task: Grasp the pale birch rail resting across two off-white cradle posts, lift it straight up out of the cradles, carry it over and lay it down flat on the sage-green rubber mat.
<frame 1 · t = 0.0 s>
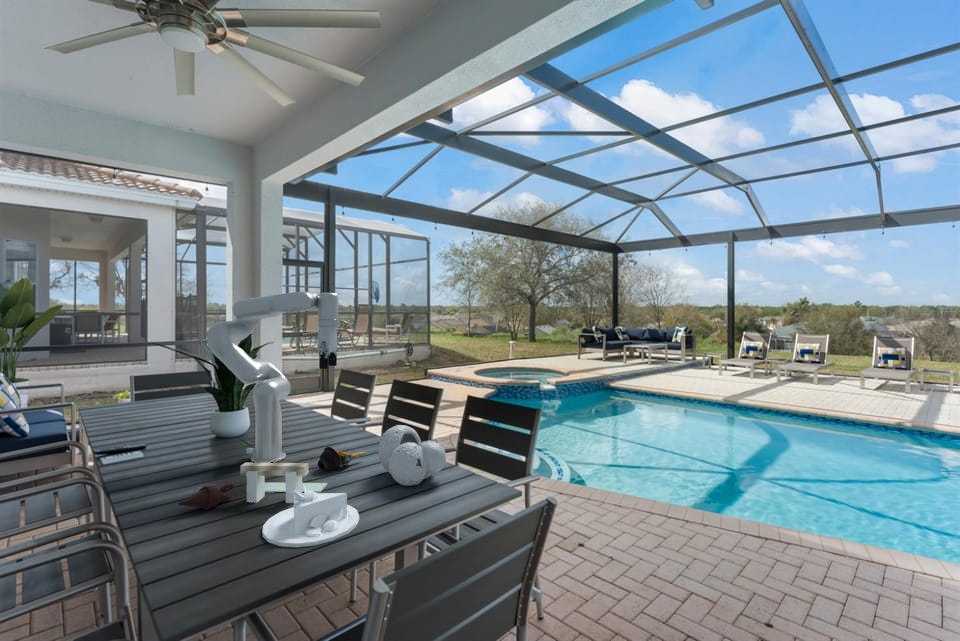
hand: (328, 367, 180), 37 cm above the table, tool pointing down, fingers open, 9 cm apart
fried food: (342, 467, 173), on the table
post 1: (255, 499, 142), on the table
mat: (287, 488, 151), on the table
rail: (274, 473, 142), point 8 cm above the table, touching post 2, post 1
icecream: (207, 509, 135), on the table
grey lumpy clump: (408, 478, 161), on the table
dish: (312, 526, 126), on the table
post 2: (294, 499, 142), on the table
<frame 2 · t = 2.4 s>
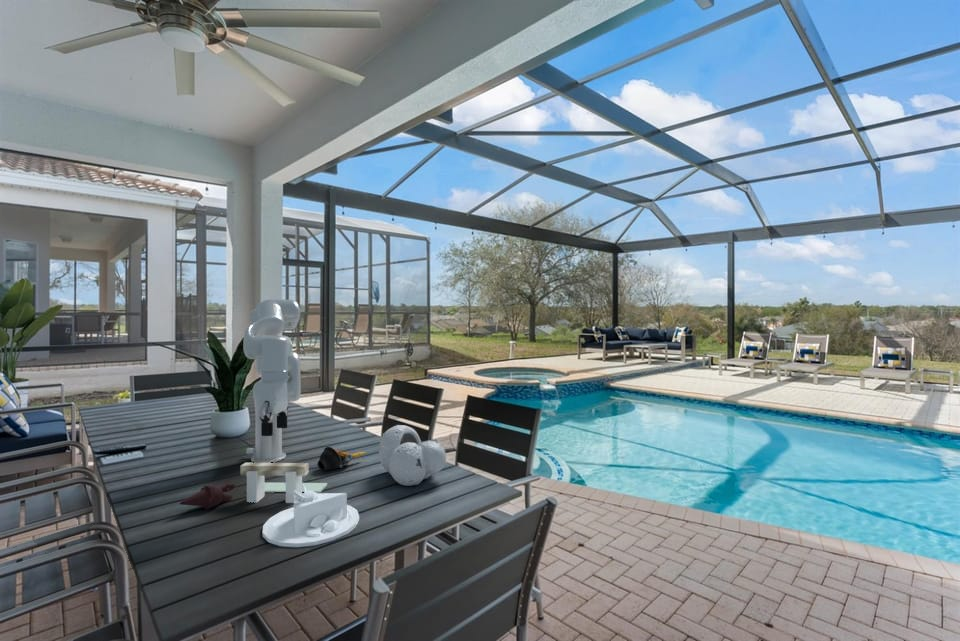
hand: (274, 431, 142), 21 cm above the table, tool pointing down, fingers open, 9 cm apart
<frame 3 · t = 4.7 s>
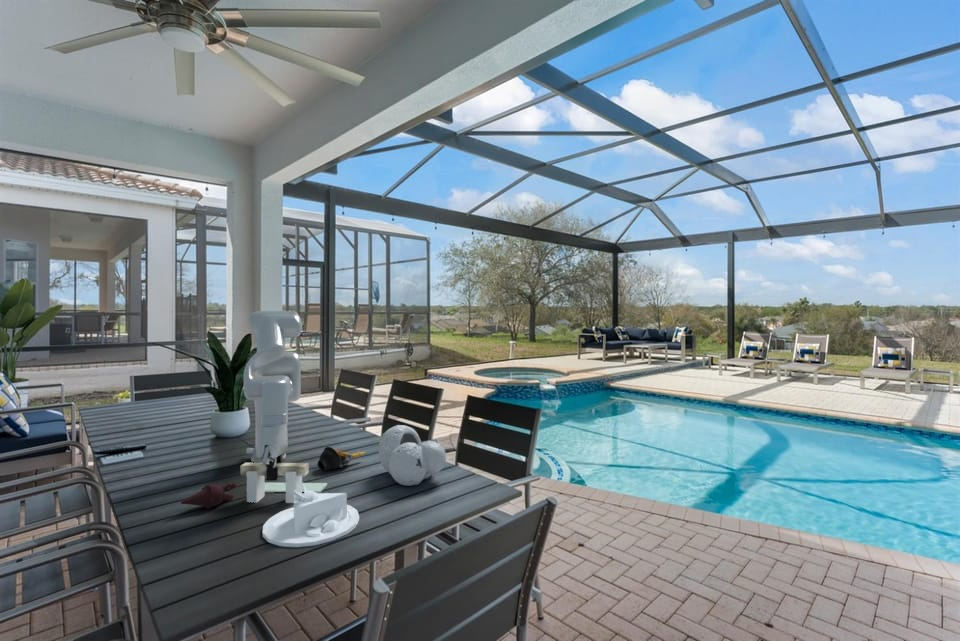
hand: (274, 477, 142), 7 cm above the table, tool pointing down, fingers closed on rail, 3 cm apart
rail: (274, 473, 142), point 8 cm above the table, touching gripper, post 2, post 1
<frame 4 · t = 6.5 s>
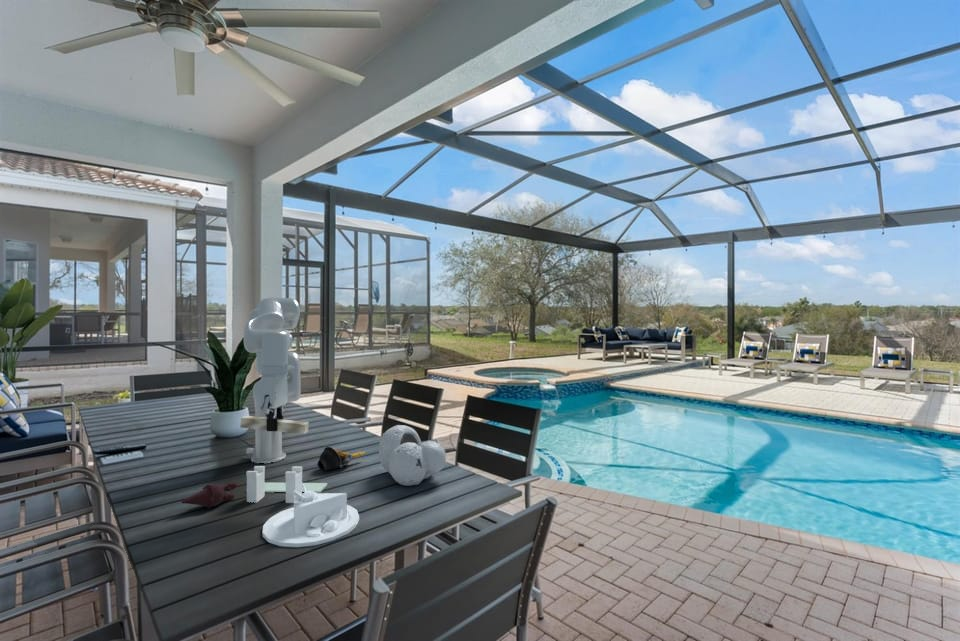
hand: (275, 428, 142), 22 cm above the table, tool pointing down, fingers closed on rail, 3 cm apart
rail: (274, 429, 142), point 22 cm above the table, tilted 6°, touching gripper
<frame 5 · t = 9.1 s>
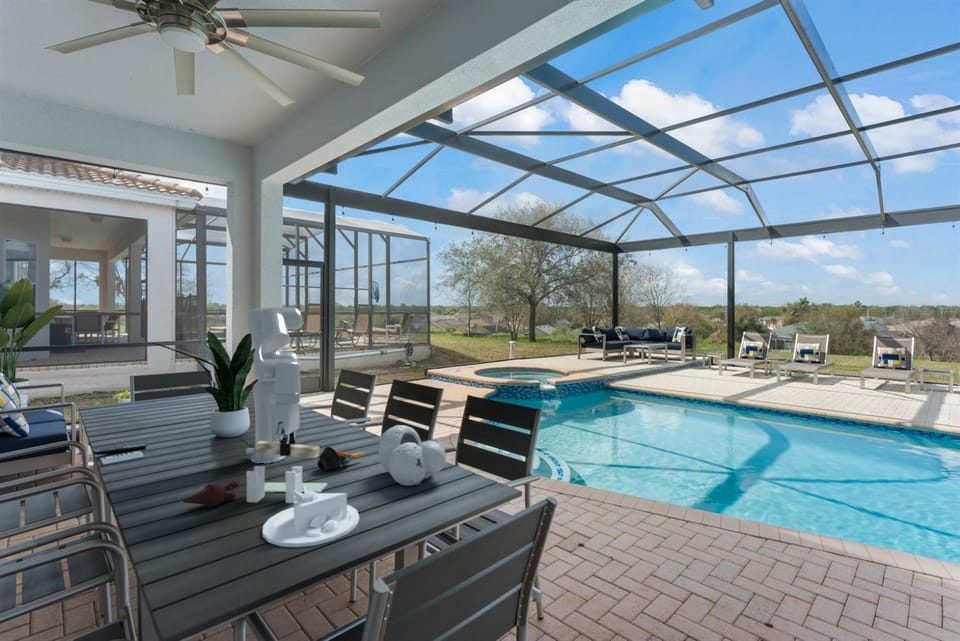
hand: (287, 453, 151), 12 cm above the table, tool pointing down, fingers closed on rail, 3 cm apart
rail: (287, 453, 151), point 12 cm above the table, tilted 5°, touching gripper
when the fingers open (1 cm above the table, at t = 11.7 s): rail stays where it is, resting on mat.
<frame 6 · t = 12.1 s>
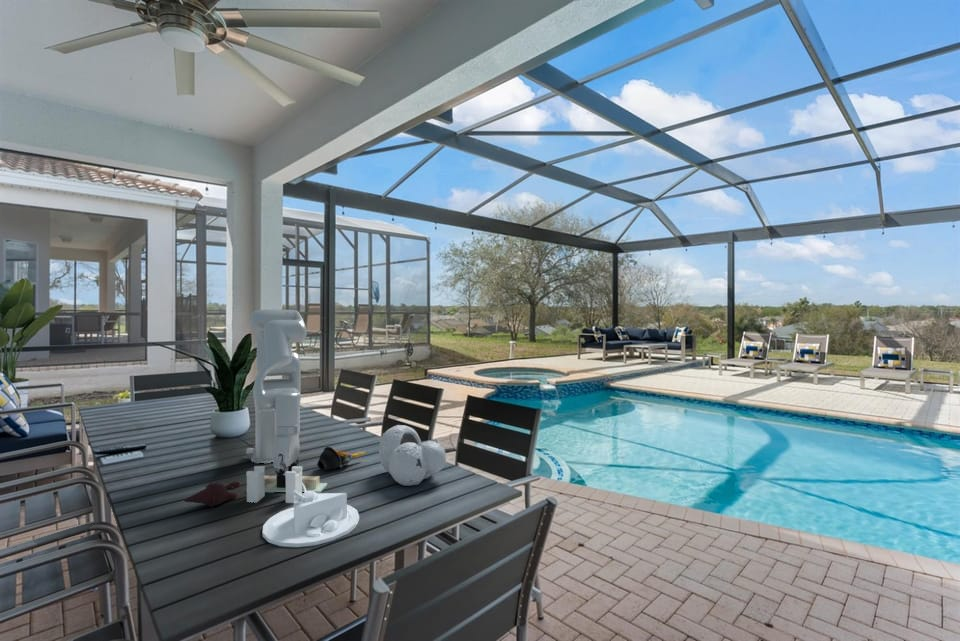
hand: (287, 482, 151), 2 cm above the table, tool pointing down, fingers open, 7 cm apart
rail: (287, 486, 151), point 1 cm above the table, touching mat
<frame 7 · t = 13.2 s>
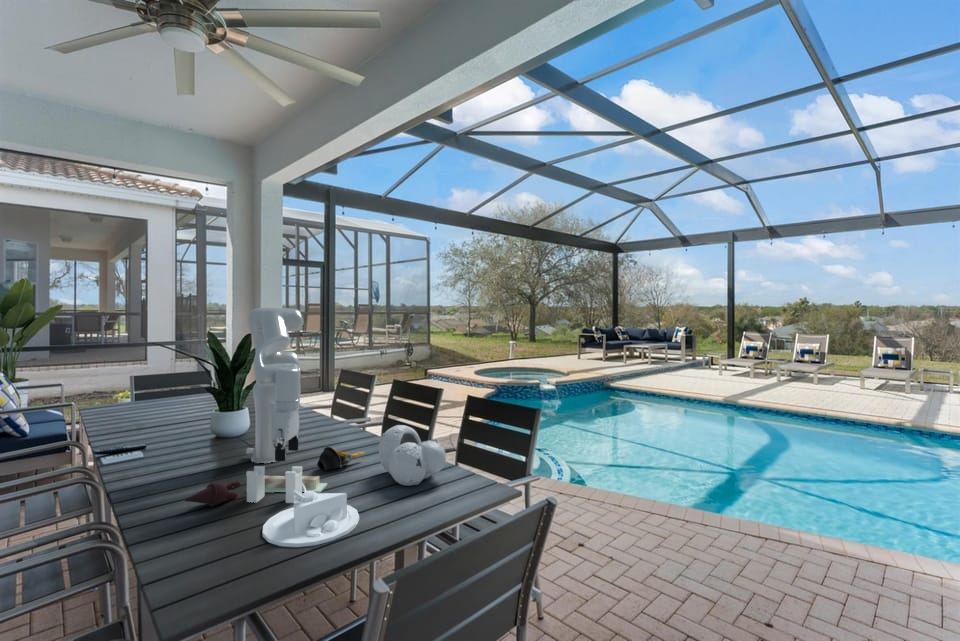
hand: (286, 455, 152), 11 cm above the table, tool pointing down, fingers open, 9 cm apart
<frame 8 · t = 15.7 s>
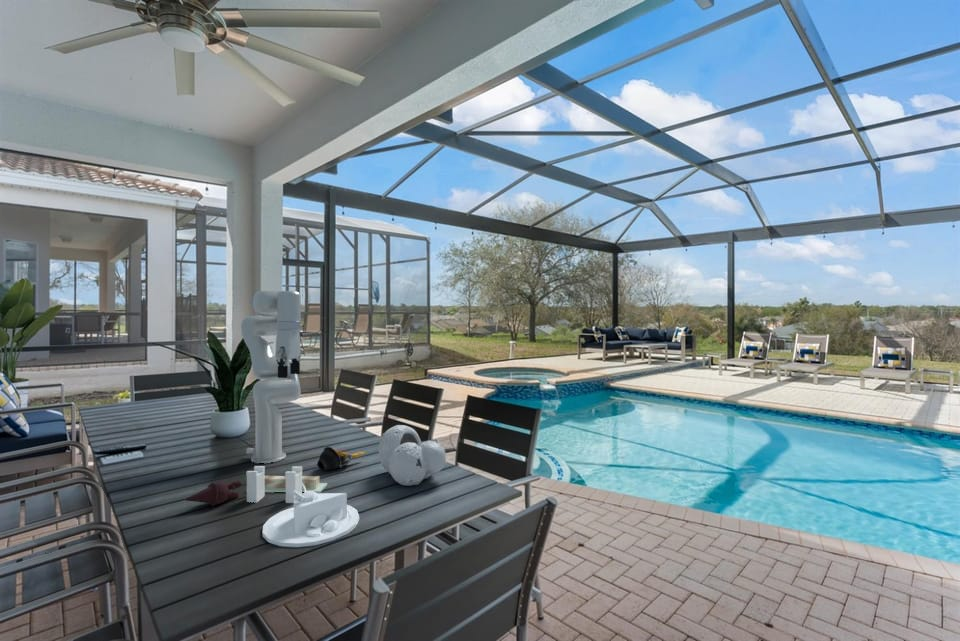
hand: (289, 375, 159), 36 cm above the table, tool pointing down, fingers open, 9 cm apart
at the end: rail inside the target area on the mat (0.1 cm from its centre), point 0.6 cm above the mat's base; rail point 0.6 cm above the table; the gripper is holding nothing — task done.
